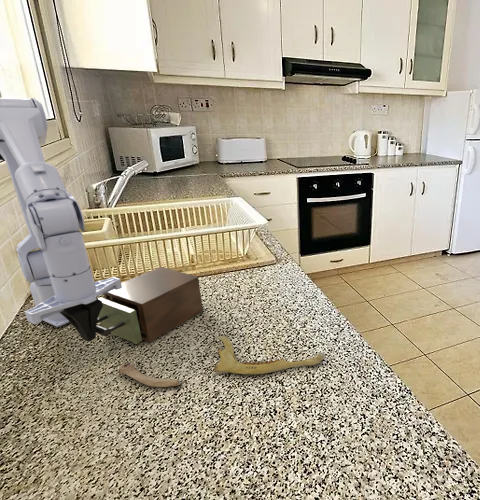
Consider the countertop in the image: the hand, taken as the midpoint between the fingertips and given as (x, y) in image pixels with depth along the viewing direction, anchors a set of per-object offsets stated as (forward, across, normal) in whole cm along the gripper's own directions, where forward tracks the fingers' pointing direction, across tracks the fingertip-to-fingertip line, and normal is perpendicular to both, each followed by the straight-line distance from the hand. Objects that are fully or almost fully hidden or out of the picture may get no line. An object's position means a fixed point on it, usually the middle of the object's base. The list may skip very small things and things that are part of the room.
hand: (88, 338), depth 68 cm
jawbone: (+4, +13, -28) cm, 31 cm away
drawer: (+3, +9, 0) cm, 10 cm away
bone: (+4, 0, -15) cm, 15 cm away
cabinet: (+4, +14, 0) cm, 15 cm away
